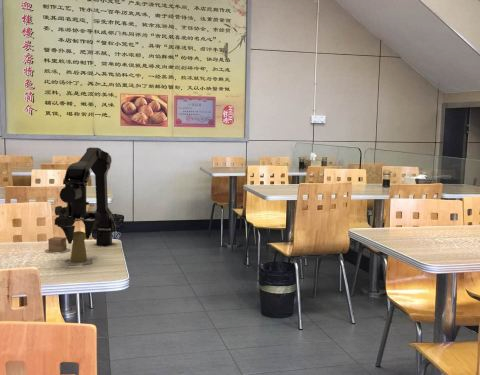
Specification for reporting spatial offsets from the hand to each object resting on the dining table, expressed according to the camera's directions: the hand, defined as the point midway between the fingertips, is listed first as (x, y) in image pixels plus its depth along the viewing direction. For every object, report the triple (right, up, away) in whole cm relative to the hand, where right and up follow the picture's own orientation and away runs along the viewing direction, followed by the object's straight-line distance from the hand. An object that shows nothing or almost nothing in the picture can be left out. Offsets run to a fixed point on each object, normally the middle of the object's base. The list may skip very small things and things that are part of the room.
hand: (78, 241), depth 196 cm
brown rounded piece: (0, -8, +1) cm, 8 cm away
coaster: (-14, -6, +17) cm, 22 cm away
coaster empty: (0, -8, +1) cm, 8 cm away
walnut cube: (-14, -5, +17) cm, 22 cm away
